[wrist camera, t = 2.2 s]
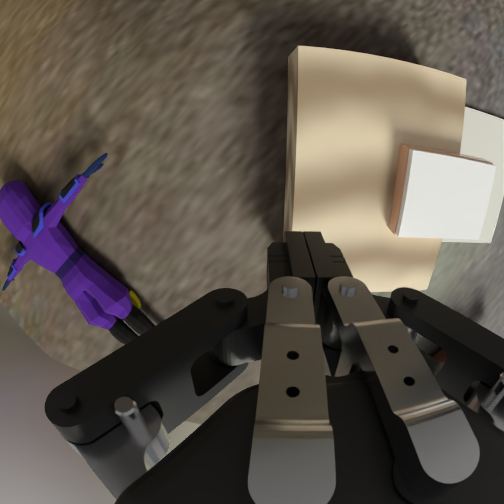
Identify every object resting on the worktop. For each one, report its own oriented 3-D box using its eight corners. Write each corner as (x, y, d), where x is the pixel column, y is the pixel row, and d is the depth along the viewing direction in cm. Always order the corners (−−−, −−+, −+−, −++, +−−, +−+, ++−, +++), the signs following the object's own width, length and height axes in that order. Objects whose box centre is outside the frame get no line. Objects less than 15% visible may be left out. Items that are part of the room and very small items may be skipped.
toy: (252, 294, 37) (77, 95, 25) (252, 326, 32) (47, 100, 20) (118, 368, 45) (-15, 239, 33) (109, 394, 40) (-36, 258, 28)
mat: (441, 100, 24) (443, 100, 24) (513, 123, 24) (515, 124, 24) (419, 239, 32) (420, 241, 32) (489, 241, 32) (490, 243, 31)
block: (288, 56, 23) (298, 45, 17) (426, 77, 23) (466, 79, 17) (282, 254, 33) (287, 293, 27) (401, 254, 33) (426, 289, 27)
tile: (400, 143, 20) (411, 148, 19) (483, 158, 20) (497, 165, 19) (387, 227, 24) (396, 238, 22) (468, 230, 24) (479, 240, 22)
